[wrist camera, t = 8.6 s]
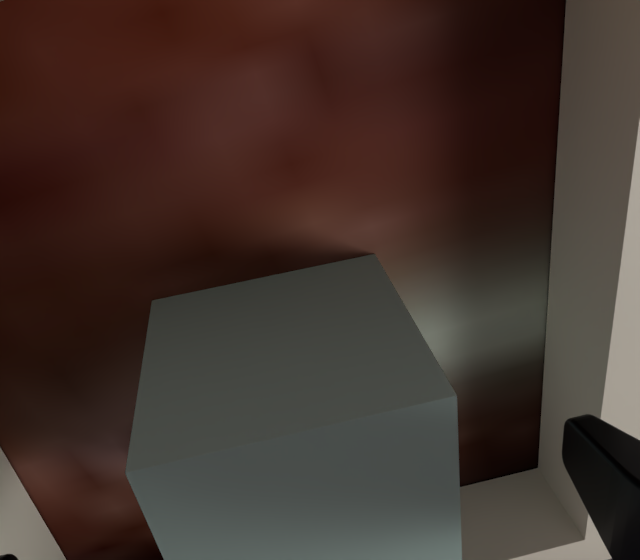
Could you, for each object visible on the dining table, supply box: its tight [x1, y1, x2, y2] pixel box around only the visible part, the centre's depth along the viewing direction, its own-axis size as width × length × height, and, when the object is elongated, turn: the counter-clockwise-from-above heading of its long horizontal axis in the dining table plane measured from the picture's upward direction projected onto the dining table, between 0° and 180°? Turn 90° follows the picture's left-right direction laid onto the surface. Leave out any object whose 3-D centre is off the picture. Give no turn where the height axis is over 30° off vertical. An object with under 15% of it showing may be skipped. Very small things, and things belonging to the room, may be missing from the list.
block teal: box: [125, 254, 462, 560], centre depth 11 cm, size 4×4×4 cm
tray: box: [0, 0, 640, 560], centre depth 9 cm, size 20×14×2 cm
